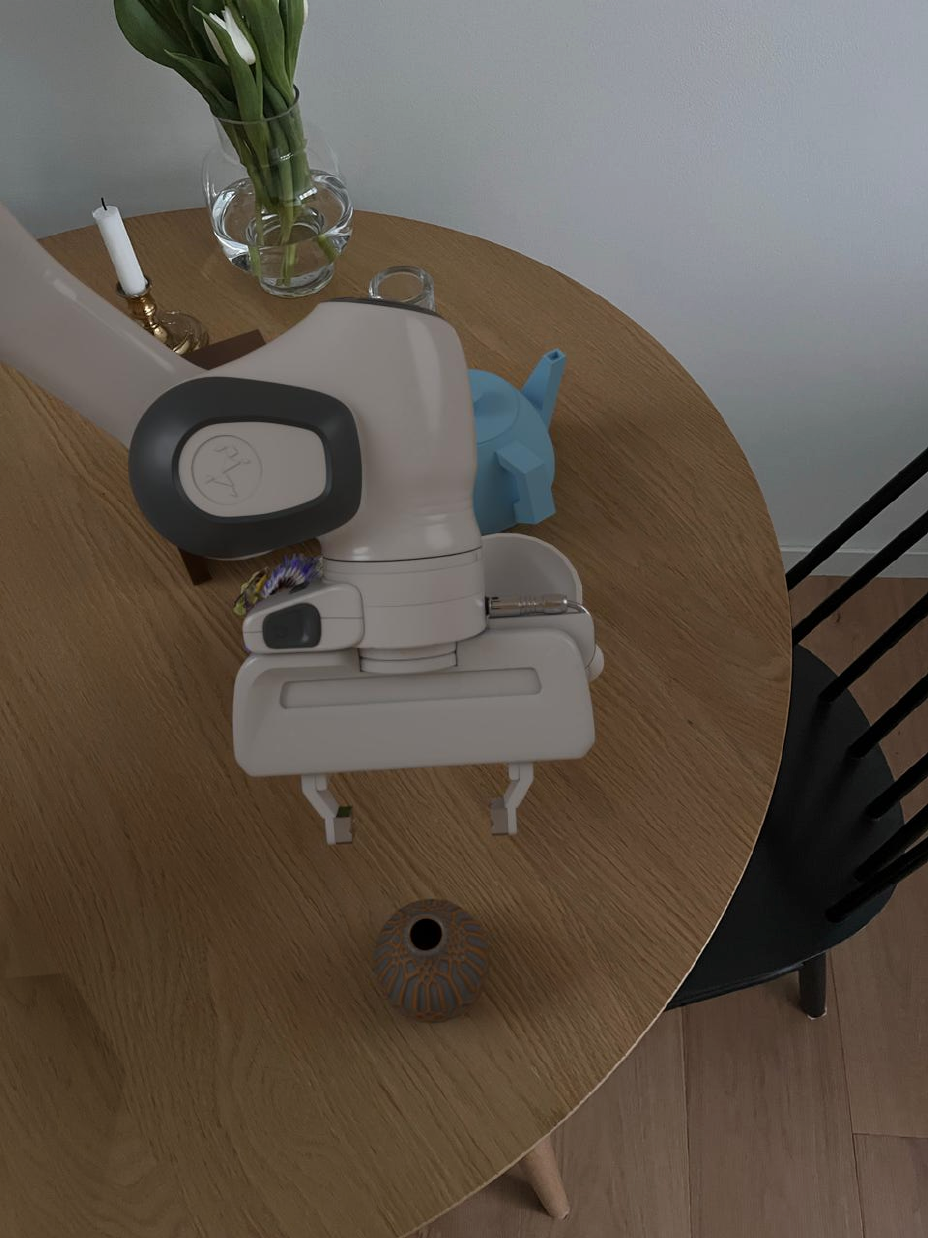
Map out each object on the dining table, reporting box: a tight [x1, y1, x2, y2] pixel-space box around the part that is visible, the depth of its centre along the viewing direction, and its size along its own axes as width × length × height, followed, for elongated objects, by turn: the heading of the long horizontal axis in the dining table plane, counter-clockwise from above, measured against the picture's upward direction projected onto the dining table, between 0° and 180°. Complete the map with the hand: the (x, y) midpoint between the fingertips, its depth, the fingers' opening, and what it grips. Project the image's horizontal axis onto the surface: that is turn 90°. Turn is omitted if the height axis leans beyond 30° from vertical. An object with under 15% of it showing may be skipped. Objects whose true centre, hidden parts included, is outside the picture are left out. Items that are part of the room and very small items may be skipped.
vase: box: [373, 898, 491, 1025], centre depth 63 cm, size 7×7×9 cm
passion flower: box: [233, 553, 323, 655], centre depth 76 cm, size 11×11×12 cm
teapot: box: [468, 347, 568, 536], centre depth 84 cm, size 15×15×11 cm
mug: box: [482, 532, 605, 683], centre depth 75 cm, size 13×10×8 cm
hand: (422, 836), depth 61 cm, fingers open, 8 cm apart
